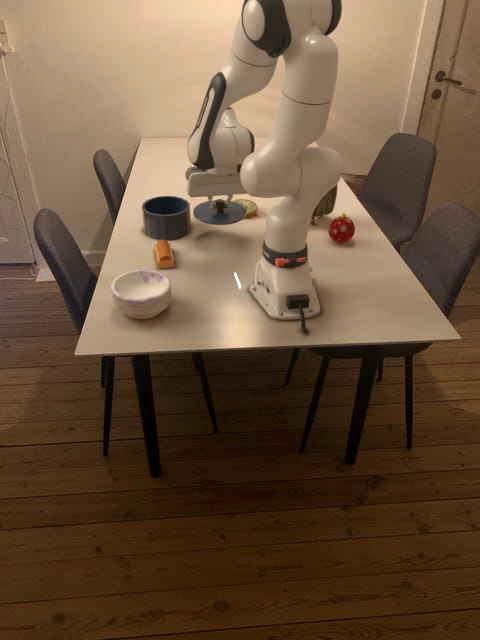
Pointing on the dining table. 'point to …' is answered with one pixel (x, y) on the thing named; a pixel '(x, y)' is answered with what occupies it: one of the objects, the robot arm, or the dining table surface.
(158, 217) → the crock
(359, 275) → the dining table surface
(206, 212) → the crock lid
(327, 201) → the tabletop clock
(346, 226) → the christmas ornament
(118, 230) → the dining table surface
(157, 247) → the orange rounded bar
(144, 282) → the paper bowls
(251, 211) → the decorated donut
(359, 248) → the dining table surface
